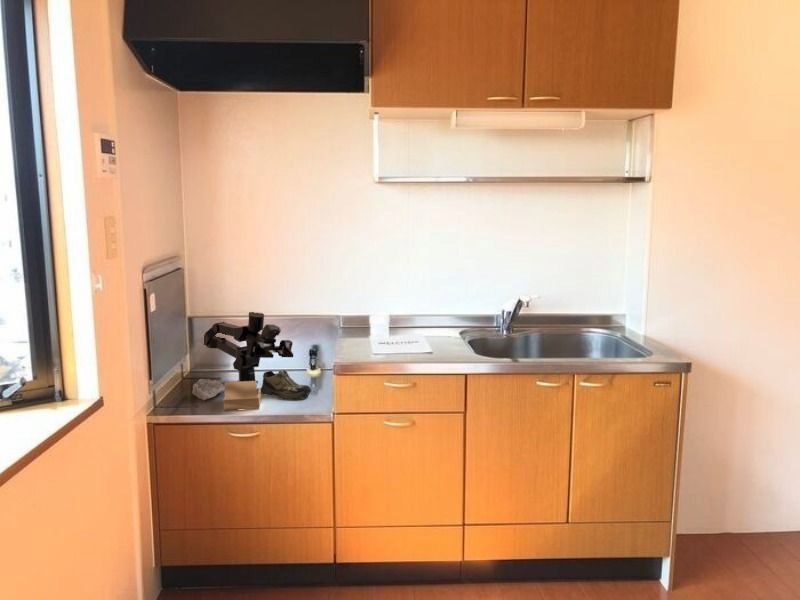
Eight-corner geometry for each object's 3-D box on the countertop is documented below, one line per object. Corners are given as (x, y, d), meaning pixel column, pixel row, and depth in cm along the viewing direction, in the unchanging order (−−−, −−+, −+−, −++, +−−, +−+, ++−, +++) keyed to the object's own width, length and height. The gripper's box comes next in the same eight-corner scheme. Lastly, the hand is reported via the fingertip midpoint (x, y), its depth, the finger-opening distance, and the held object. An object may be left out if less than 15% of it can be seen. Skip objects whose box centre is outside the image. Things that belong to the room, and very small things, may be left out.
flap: (224, 382, 235) (224, 382, 234) (256, 380, 236) (256, 380, 236) (225, 399, 234) (225, 399, 234) (257, 398, 236) (256, 398, 236)
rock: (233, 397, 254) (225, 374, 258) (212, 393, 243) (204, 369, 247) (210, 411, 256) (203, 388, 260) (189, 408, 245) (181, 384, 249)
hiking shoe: (302, 402, 244) (302, 377, 243) (254, 395, 253) (253, 371, 252) (315, 396, 252) (314, 372, 250) (267, 389, 261) (266, 365, 259)
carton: (227, 400, 247) (227, 389, 246) (260, 398, 249) (260, 388, 248) (224, 411, 235) (223, 400, 235) (259, 409, 237) (258, 398, 236)
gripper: (243, 321, 250) (267, 335, 240) (283, 322, 264) (307, 335, 254) (236, 349, 252) (260, 364, 242) (276, 349, 266) (300, 363, 256)
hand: (283, 356), depth 248 cm, fingers open, 9 cm apart
